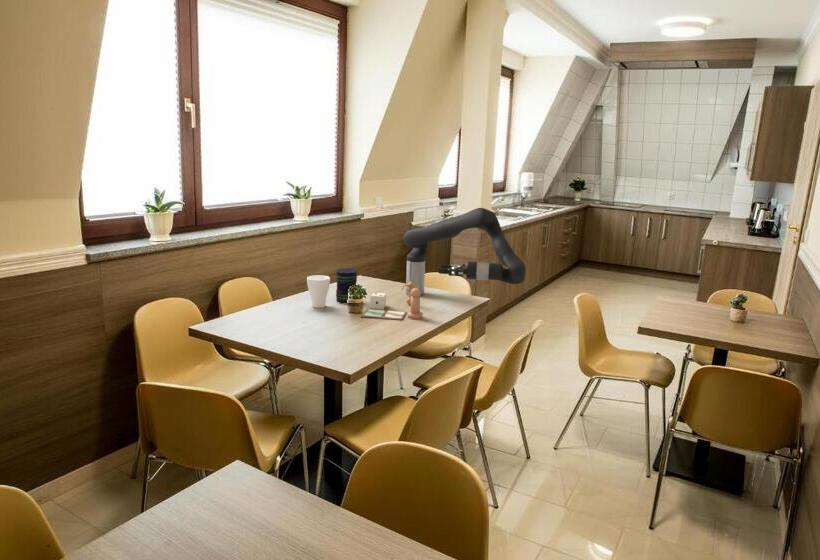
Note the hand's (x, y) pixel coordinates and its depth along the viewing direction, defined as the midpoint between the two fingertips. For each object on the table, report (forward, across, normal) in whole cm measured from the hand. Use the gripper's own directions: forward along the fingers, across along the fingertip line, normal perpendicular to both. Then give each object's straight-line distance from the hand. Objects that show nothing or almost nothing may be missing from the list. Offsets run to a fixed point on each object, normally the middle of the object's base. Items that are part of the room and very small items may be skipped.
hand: (439, 268), depth 254 cm
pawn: (+10, 0, +22) cm, 25 cm away
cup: (+56, -7, +22) cm, 61 cm away
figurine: (+15, -19, +22) cm, 33 cm away
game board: (+24, 0, +22) cm, 33 cm away
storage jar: (+46, -19, +22) cm, 55 cm away
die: (+29, -12, +22) cm, 39 cm away
